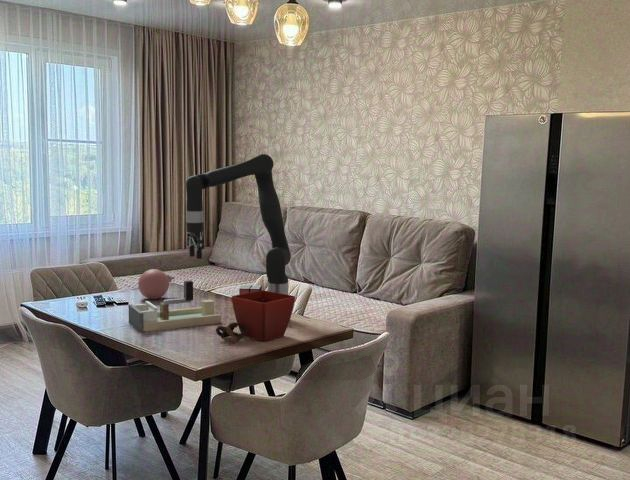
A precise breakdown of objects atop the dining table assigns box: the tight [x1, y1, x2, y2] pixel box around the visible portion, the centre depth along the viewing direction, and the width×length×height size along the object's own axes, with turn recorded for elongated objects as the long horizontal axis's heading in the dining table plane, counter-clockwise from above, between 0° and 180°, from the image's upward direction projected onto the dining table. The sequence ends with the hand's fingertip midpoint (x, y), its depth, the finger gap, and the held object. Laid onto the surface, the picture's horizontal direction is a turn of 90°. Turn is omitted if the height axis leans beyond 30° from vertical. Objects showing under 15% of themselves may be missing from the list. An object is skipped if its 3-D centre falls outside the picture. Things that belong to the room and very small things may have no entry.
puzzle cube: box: [238, 284, 263, 295], centre depth 312 cm, size 10×10×10 cm
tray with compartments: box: [128, 299, 222, 333], centre depth 279 cm, size 18×36×9 cm, turn 121°
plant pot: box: [231, 289, 296, 342], centre depth 259 cm, size 19×19×17 cm
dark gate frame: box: [159, 279, 194, 320], centre depth 278 cm, size 5×14×16 cm, turn 121°
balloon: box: [137, 268, 175, 300], centre depth 327 cm, size 15×20×15 cm
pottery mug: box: [215, 321, 246, 344], centre depth 252 cm, size 12×10×8 cm
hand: (195, 257), depth 281 cm, fingers open, 8 cm apart
